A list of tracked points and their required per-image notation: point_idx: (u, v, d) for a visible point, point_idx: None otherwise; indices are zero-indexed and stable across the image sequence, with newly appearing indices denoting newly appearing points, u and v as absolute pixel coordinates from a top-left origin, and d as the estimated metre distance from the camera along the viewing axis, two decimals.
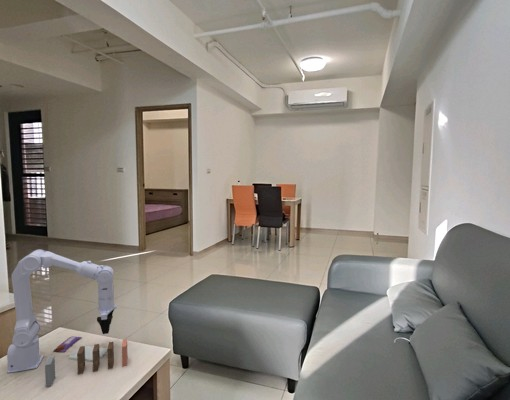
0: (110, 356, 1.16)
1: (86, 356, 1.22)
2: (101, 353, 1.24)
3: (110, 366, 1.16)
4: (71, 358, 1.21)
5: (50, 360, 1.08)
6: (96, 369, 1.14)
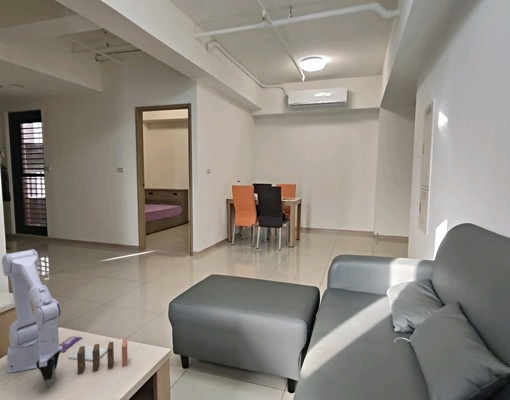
0: (110, 356, 1.16)
1: (86, 356, 1.22)
2: (101, 353, 1.24)
3: (110, 366, 1.16)
4: (71, 358, 1.21)
5: None
6: (96, 369, 1.14)
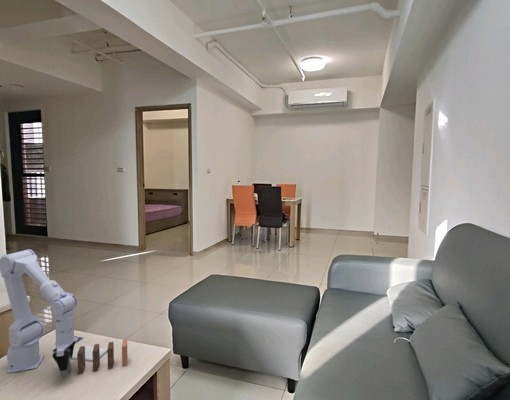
0: (110, 356, 1.16)
1: (85, 356, 1.22)
2: (100, 353, 1.24)
3: (110, 366, 1.16)
4: (70, 358, 1.21)
5: None
6: (96, 369, 1.14)
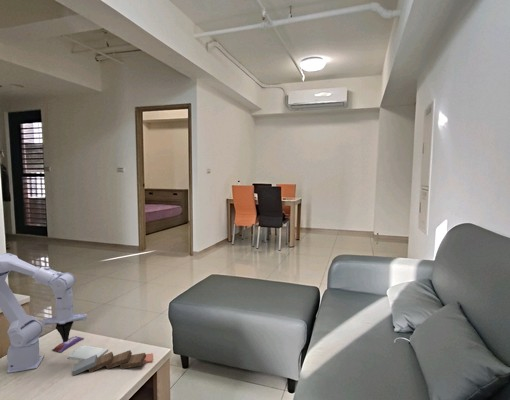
0: (132, 365, 1.15)
1: (84, 356, 1.22)
2: (99, 353, 1.24)
3: (123, 366, 1.16)
4: (70, 357, 1.22)
5: (96, 360, 1.16)
6: (108, 367, 1.16)
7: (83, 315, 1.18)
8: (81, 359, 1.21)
